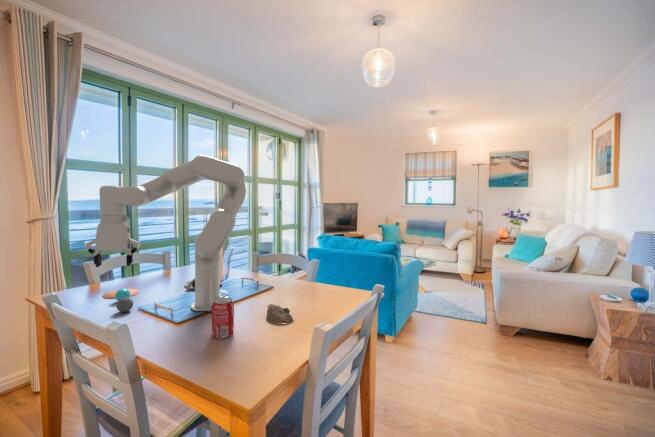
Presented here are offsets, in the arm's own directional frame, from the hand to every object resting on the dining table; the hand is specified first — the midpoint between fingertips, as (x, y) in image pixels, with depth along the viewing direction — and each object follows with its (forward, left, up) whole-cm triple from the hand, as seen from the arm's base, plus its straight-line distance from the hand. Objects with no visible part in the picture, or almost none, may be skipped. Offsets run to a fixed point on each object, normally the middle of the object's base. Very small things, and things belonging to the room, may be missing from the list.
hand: (114, 265), depth 112 cm
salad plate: (-21, -39, -20) cm, 49 cm away
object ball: (+6, -17, -17) cm, 25 cm away
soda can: (-43, +18, -20) cm, 51 cm away
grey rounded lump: (-1, -5, -17) cm, 17 cm away
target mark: (+12, -28, -20) cm, 36 cm away
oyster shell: (-61, +5, -20) cm, 65 cm away
